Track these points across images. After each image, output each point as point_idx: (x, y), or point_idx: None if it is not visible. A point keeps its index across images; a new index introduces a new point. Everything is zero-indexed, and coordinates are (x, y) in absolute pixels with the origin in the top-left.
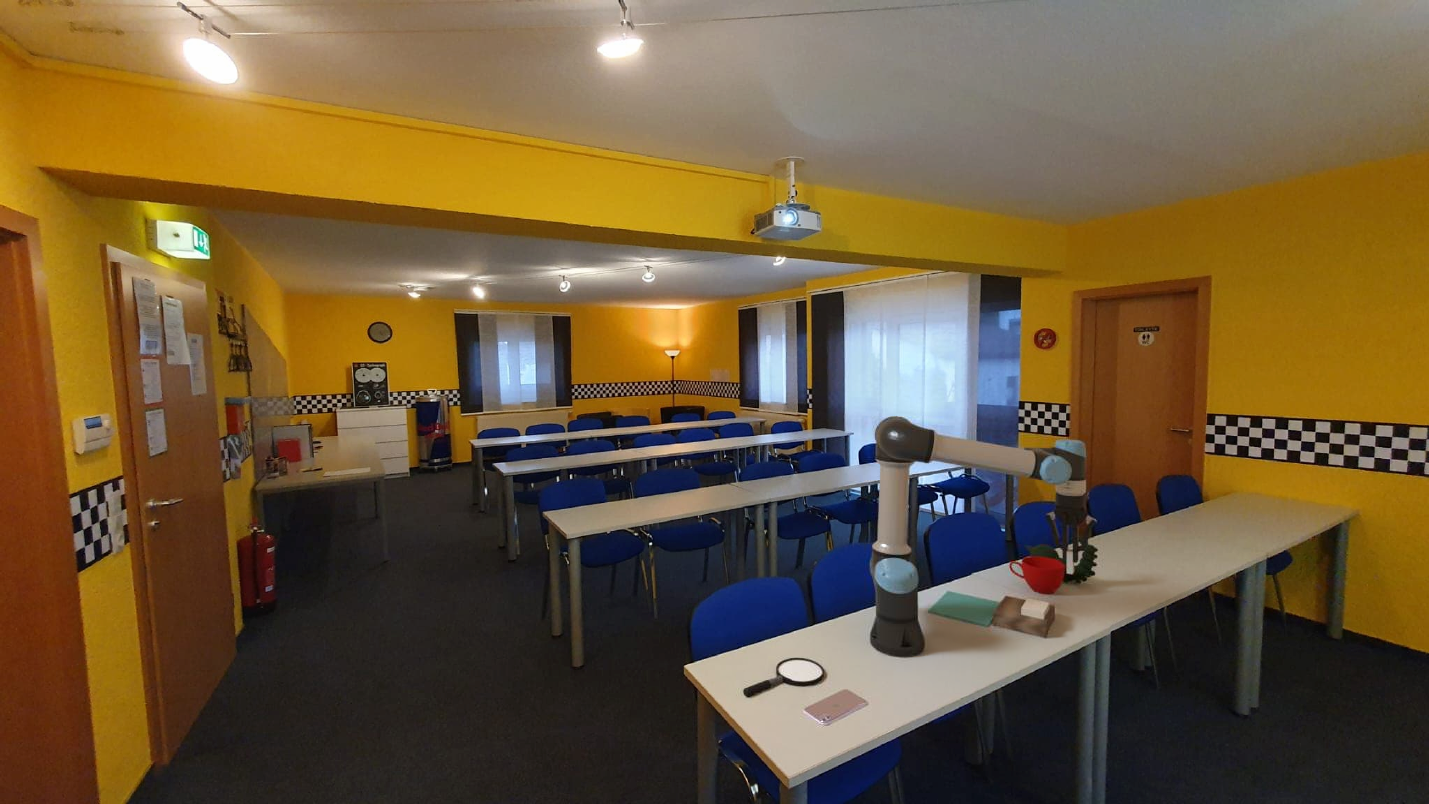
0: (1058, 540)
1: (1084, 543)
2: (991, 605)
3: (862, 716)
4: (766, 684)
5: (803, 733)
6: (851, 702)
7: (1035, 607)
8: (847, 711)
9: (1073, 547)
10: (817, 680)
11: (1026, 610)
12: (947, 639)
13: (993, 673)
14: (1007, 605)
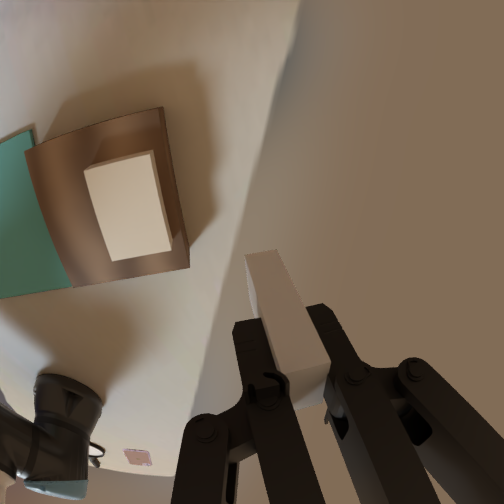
0: (236, 495)
1: (424, 440)
2: (19, 173)
3: (157, 456)
4: (95, 462)
5: (150, 468)
6: (141, 455)
7: (135, 227)
8: (149, 459)
9: (340, 433)
10: (103, 451)
11: (126, 256)
12: (83, 358)
13: (187, 390)
14: (62, 219)
